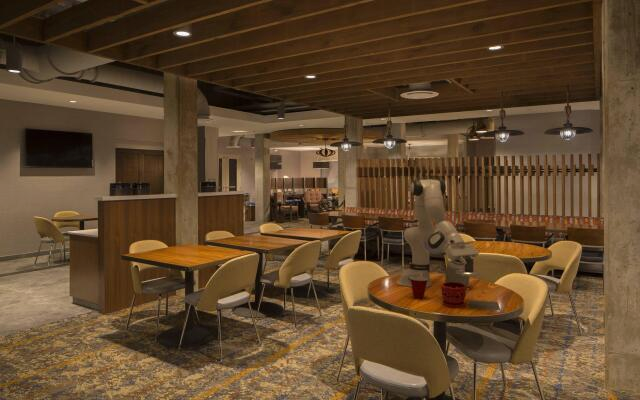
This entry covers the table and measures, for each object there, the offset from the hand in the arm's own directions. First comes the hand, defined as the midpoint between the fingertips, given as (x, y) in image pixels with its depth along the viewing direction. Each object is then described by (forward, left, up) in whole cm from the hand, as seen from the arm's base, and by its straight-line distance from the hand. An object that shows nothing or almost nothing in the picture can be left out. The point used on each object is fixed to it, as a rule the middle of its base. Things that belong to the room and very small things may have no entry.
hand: (469, 263), depth 250 cm
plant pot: (-8, 0, -24) cm, 26 cm away
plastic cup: (-28, +12, -24) cm, 39 cm away
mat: (+8, +5, -24) cm, 26 cm away
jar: (-5, +44, -24) cm, 50 cm away
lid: (0, 0, -6) cm, 6 cm away
